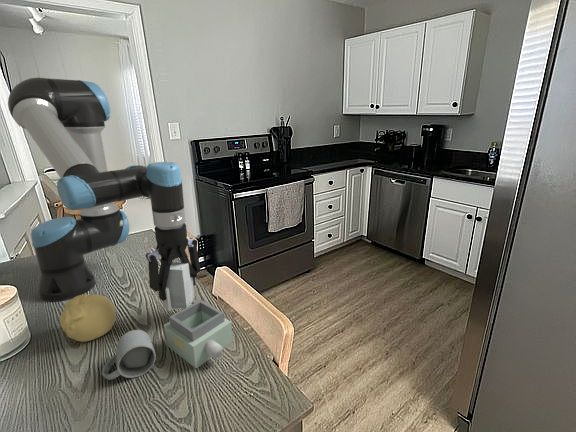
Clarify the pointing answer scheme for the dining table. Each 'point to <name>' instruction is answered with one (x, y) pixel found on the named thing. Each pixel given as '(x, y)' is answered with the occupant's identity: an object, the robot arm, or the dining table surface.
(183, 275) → the skincare box
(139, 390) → the dining table surface
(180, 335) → the green open box
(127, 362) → the ceramic mug
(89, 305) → the sculpture
